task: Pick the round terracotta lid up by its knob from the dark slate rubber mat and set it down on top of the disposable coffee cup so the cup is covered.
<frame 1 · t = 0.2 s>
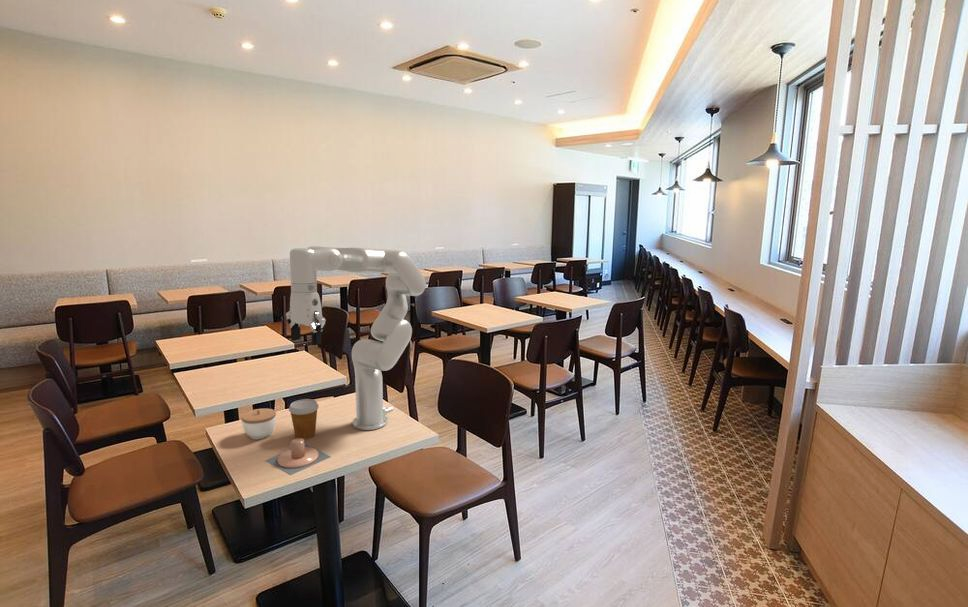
hand: (306, 342, 154), 36 cm above the table, tool pointing down, fingers open, 9 cm apart
lid: (298, 458, 152), point 1 cm above the table, touching mat
lidded jar: (260, 435, 169), on the table
disposable coffee cup: (305, 437, 169), on the table
mat: (298, 460, 152), on the table
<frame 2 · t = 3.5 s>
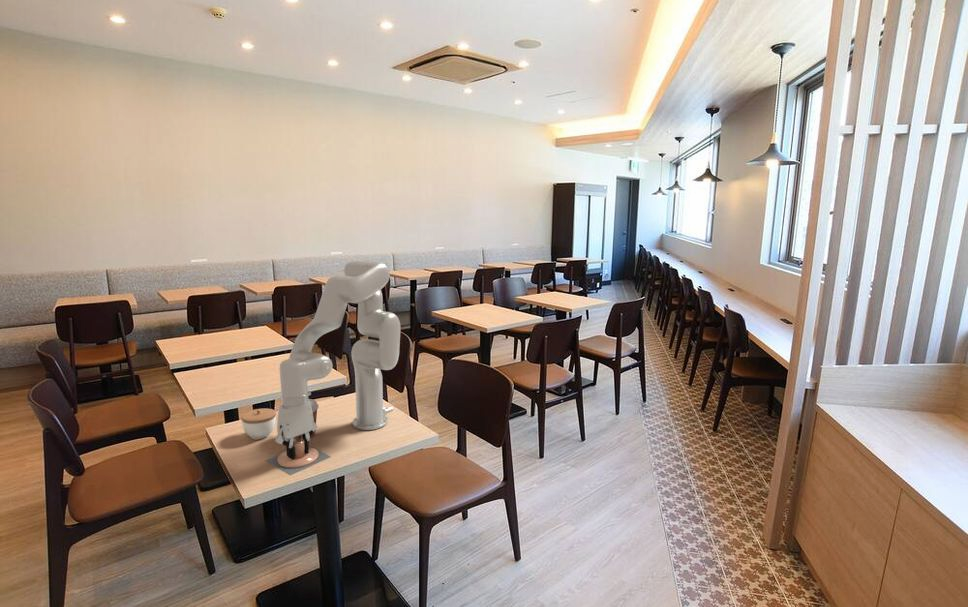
hand: (298, 454, 152), 2 cm above the table, tool pointing down, fingers closed on lid, 4 cm apart
lid: (298, 458, 152), point 1 cm above the table, touching gripper, mat
everything else where it was.
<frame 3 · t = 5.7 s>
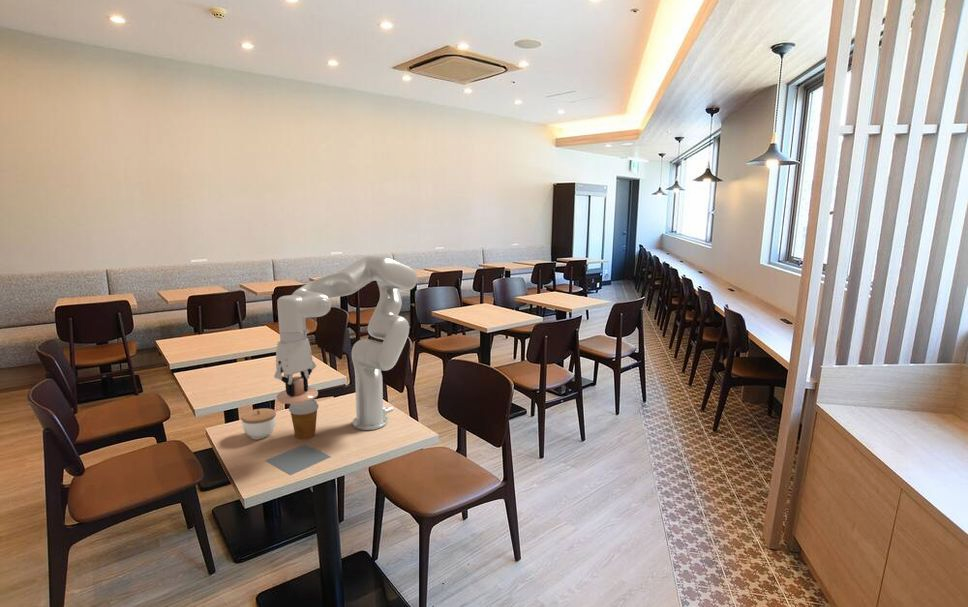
hand: (297, 392, 152), 21 cm above the table, tool pointing down, fingers closed on lid, 4 cm apart
lid: (297, 396, 152), point 20 cm above the table, touching gripper
everything else where it was.
when the fingers open (15 cm above the table, at t = 7.9 s): lid drops 2 cm, resting on disposable coffee cup.
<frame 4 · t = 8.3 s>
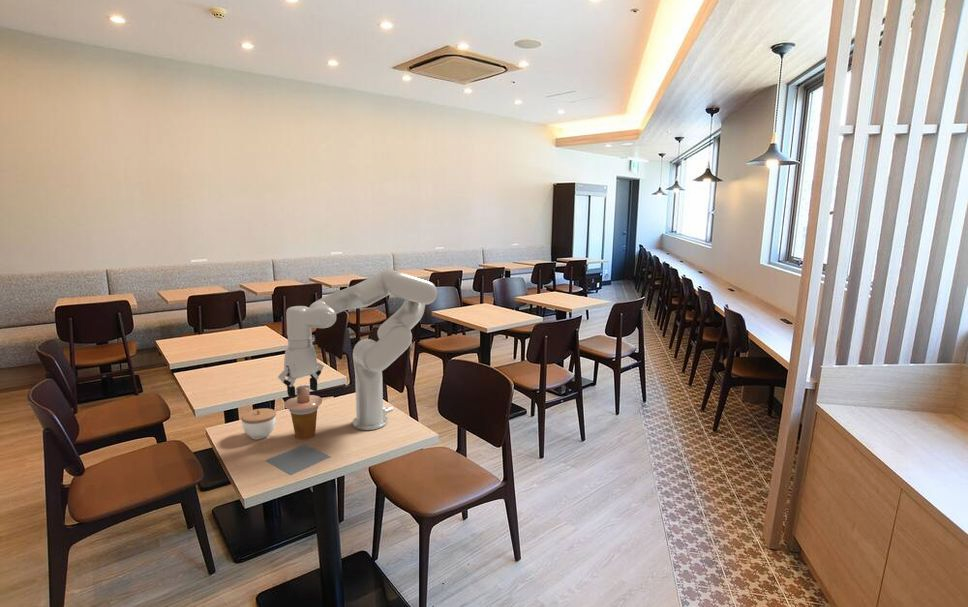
hand: (302, 393, 166), 16 cm above the table, tool pointing down, fingers open, 7 cm apart
lid: (303, 403, 167), point 12 cm above the table, touching disposable coffee cup
disposable coffee cup: (305, 437, 169), on the table, touching lid
everything else where it was.
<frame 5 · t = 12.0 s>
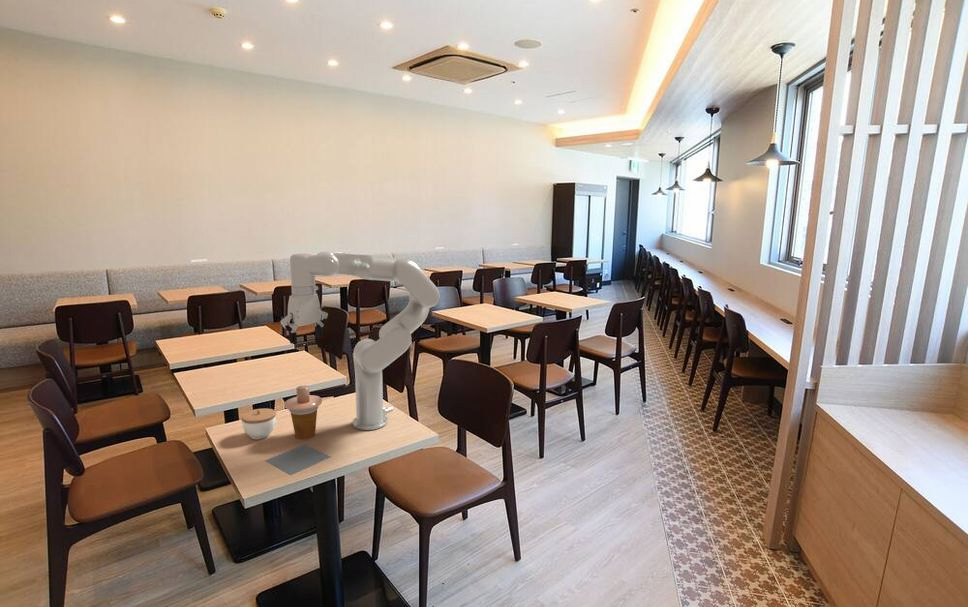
hand: (306, 340, 166), 33 cm above the table, tool pointing down, fingers open, 9 cm apart
nothing on the table moved.
at the end: lid 0.0 cm off-centre on the disposable coffee cup, point 12.2 cm above the disposable coffee cup's base; disposable coffee cup tilted 0°; the gripper is holding nothing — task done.
